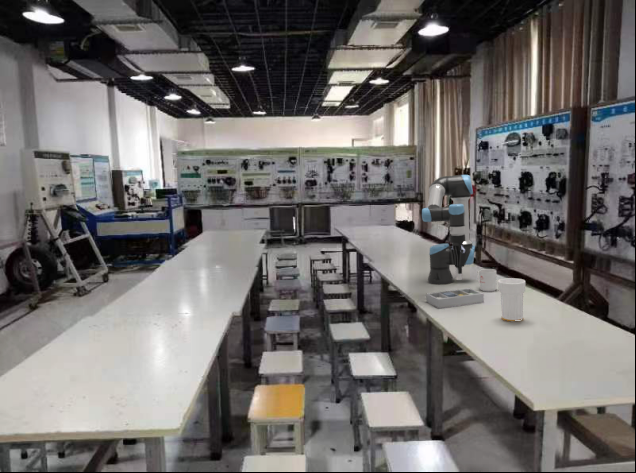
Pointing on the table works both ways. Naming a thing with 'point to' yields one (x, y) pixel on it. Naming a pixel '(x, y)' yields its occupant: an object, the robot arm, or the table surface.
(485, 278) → the mug
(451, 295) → the key slate
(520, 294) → the cup
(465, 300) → the keypad
